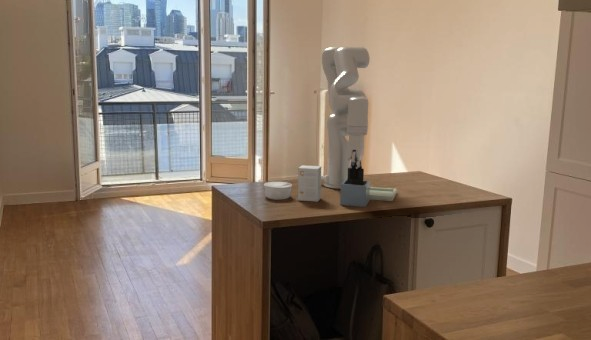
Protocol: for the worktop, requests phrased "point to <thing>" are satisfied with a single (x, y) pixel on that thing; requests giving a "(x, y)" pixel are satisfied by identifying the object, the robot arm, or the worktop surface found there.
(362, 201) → the holder
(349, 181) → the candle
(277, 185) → the ramekin
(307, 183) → the small box
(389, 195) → the tray
